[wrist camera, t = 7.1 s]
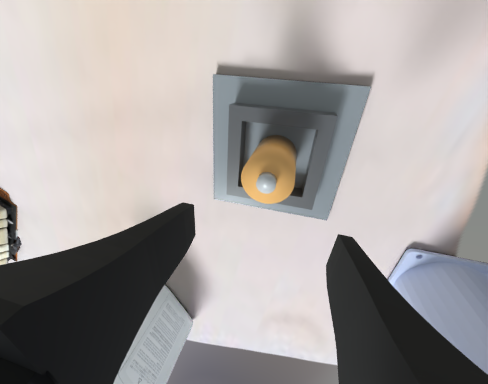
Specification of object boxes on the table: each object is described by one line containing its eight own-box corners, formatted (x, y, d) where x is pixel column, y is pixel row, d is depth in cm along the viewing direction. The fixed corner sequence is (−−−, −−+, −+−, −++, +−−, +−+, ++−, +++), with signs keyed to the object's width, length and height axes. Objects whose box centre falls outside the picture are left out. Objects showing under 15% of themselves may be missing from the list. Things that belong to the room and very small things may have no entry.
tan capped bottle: (300, 137, 16) (299, 162, 11) (292, 177, 18) (289, 213, 13) (257, 132, 17) (240, 153, 12) (253, 170, 18) (237, 203, 14)
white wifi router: (144, 281, 32) (68, 379, 22) (164, 278, 31) (92, 383, 20) (178, 322, 36) (128, 423, 26) (198, 321, 34) (152, 429, 24)
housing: (368, 86, 14) (378, 87, 12) (326, 216, 20) (329, 231, 18) (215, 74, 16) (204, 73, 14) (215, 196, 21) (207, 207, 20)
